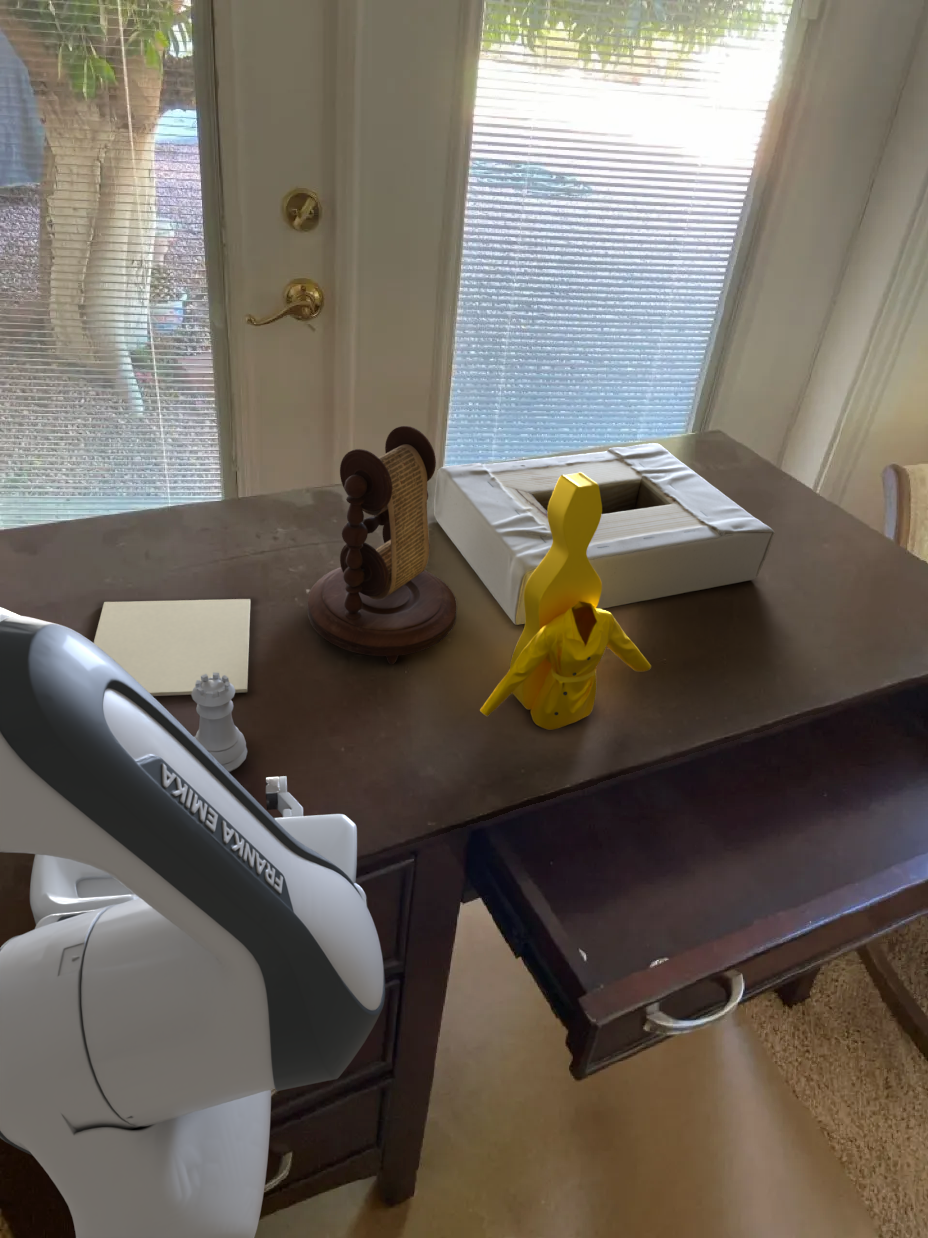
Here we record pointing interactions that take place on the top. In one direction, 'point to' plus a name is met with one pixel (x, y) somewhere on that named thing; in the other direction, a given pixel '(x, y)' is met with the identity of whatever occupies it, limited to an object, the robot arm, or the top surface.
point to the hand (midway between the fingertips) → (209, 786)
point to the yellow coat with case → (564, 618)
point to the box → (602, 525)
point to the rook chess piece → (218, 721)
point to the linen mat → (177, 642)
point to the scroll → (385, 557)
